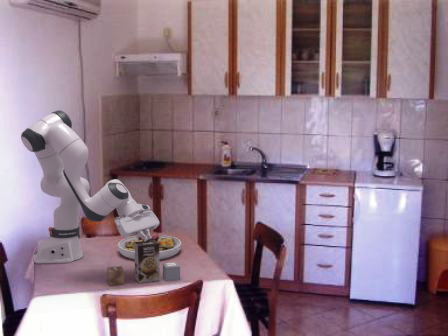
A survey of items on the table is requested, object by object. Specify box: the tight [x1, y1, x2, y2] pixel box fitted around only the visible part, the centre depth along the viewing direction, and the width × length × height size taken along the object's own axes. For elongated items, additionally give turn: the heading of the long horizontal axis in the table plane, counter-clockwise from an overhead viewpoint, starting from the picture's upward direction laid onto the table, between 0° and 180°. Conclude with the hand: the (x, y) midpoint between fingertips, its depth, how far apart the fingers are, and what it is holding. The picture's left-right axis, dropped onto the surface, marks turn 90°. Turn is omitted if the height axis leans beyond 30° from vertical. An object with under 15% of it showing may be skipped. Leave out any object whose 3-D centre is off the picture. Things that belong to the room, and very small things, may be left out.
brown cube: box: [106, 265, 125, 287], centre depth 237 cm, size 6×6×6 cm
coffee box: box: [134, 240, 161, 284], centre depth 240 cm, size 9×6×16 cm
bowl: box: [117, 231, 182, 261], centre depth 278 cm, size 30×30×8 cm
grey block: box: [162, 261, 181, 282], centre depth 243 cm, size 6×6×6 cm
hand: (148, 240), depth 239 cm, fingers closed
